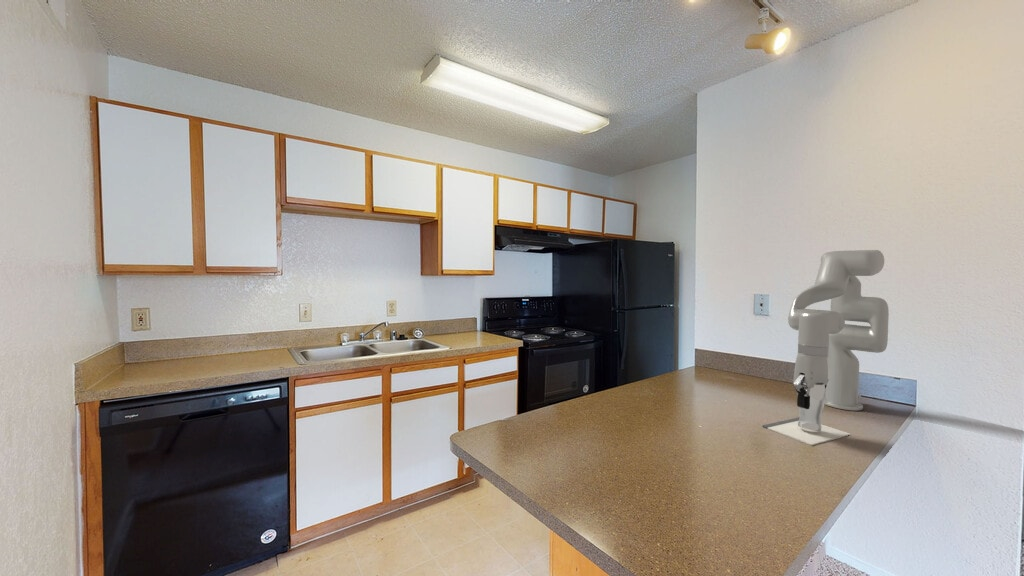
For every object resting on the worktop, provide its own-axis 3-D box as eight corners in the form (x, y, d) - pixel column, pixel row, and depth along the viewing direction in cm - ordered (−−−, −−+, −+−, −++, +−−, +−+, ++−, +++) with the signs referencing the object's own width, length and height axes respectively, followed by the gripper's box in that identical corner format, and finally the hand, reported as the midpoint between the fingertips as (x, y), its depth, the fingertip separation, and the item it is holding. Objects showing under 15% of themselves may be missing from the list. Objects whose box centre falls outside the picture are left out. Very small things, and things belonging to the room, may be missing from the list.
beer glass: (813, 424, 121) (815, 379, 120) (829, 433, 114) (831, 385, 114) (790, 423, 122) (792, 378, 121) (805, 432, 115) (807, 384, 114)
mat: (800, 418, 129) (800, 417, 129) (850, 435, 116) (850, 433, 116) (762, 426, 122) (762, 425, 122) (811, 445, 108) (811, 444, 108)
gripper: (815, 346, 124) (813, 399, 124) (782, 350, 117) (780, 405, 118) (843, 351, 117) (840, 406, 117) (809, 355, 110) (806, 414, 111)
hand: (810, 405), depth 118 cm, fingers open, 6 cm apart
